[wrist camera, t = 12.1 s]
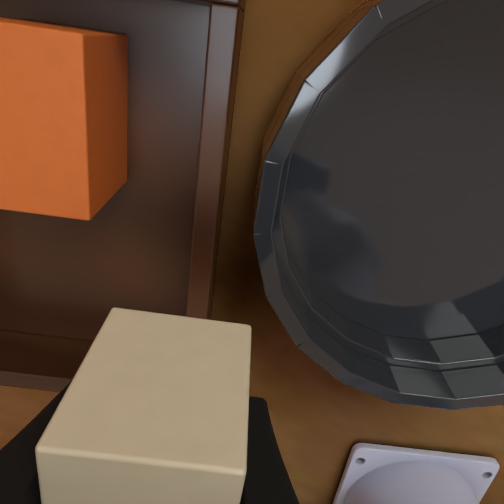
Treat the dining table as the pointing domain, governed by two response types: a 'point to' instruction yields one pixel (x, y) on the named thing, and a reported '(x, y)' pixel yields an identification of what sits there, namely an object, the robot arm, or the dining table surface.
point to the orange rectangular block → (61, 117)
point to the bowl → (393, 203)
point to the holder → (128, 191)
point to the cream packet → (152, 415)
